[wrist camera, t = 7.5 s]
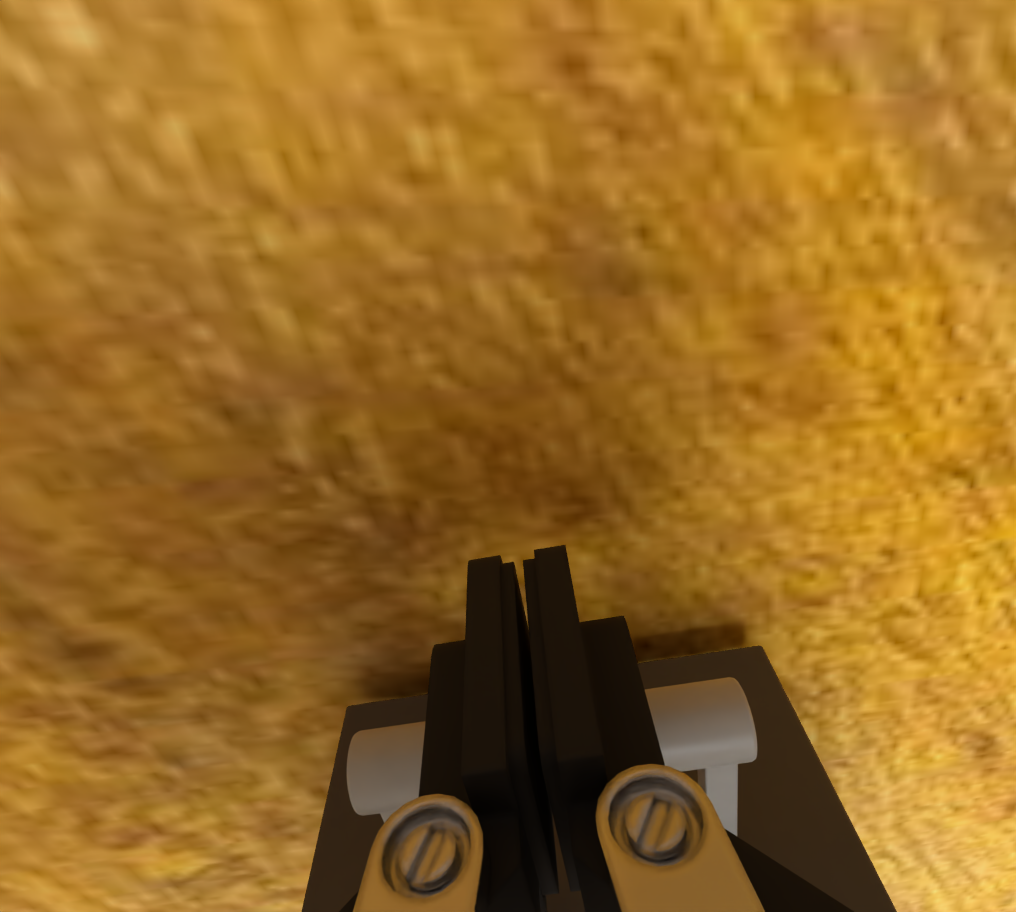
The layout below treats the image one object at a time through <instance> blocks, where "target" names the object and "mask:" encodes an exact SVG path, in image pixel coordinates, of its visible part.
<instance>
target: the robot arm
mask: <svg viewBox="0 0 1016 912" xmlns="http://www.w3.org/2000/svg"><path fill="white" fill-rule="evenodd" d="M534 555H535V558H534V559H528V560H523V567H524V579H525V590H526V602H527V614H528V625H527V621H526V616H525V611H524V607H523V602H522V597H521V593H520V588H519V583H518V579H517V574H516V569H515V565H514V562H509V563H502V559H501V556H500V555H499V556H493V557H486V558H480V559H474V560H469V561H468V574H467V604H466V635H465V640H462V641H456V642H449V643H443V644H436V645H434V647H433V650H432V656H431V667H430V678H429V688H428V699H427V710H426V721H425V732H424V743H423V753H422V764H421V775H420V786H419V797H418V798H416V799H414V800H412V801H409V802H407V803H405V804H404V805H403V806H401V807H400V808H399V809H398V810H396V811H395V812H394V813H393V814H391V815H390V816H389V818H388V819H387V820H386V822H385V823H384V824H383V826H382V827H381V828H380V829H379V831H378V833H377V836H376V838H375V840H374V843H373V845H372V847H371V851H370V854H369V857H368V861H367V864H366V868H365V871H364V875H363V878H362V882H361V885H360V889H359V891H358V892H357V893H356V894H355V895H354V896H353V897H352V898H351V899H350V900H349V901H348V902H347V903H346V904H345V906H344V907H343V908H342V909H341V910H340V911H339V912H547V901H546V895H551V894H558V893H559V880H558V869H557V859H556V849H555V838H554V828H553V818H554V823H555V827H556V831H557V836H558V840H559V844H560V848H561V853H562V857H563V861H564V865H565V870H566V874H567V878H568V883H569V887H570V891H571V892H573V891H581V895H582V899H583V904H584V908H585V912H854V911H853V910H851V909H849V908H848V907H846V906H845V905H843V904H842V903H840V902H839V901H837V900H835V899H834V898H832V897H831V896H829V895H828V894H826V893H825V892H823V891H821V890H820V889H818V888H817V887H815V886H814V885H812V884H810V883H809V882H807V881H806V880H804V879H803V878H801V877H800V876H798V875H796V874H795V873H793V872H792V871H790V870H789V869H787V868H786V867H784V866H782V865H781V864H779V863H778V862H776V861H775V860H773V859H771V858H770V857H768V856H767V855H765V854H764V853H762V852H761V851H759V850H757V849H756V848H754V847H753V846H751V845H750V844H748V843H747V842H745V841H743V840H742V839H740V838H739V837H737V836H736V835H734V834H733V833H731V832H729V831H728V830H726V829H725V828H724V827H723V825H722V823H721V821H720V819H719V817H718V815H717V813H716V811H715V809H714V806H713V804H712V802H711V801H710V799H709V798H708V796H707V795H706V793H705V792H704V790H703V789H702V788H701V786H700V785H699V784H698V783H696V782H695V781H694V780H693V779H691V778H690V777H689V776H688V775H687V774H685V773H683V772H681V771H678V770H676V769H674V768H672V767H669V766H665V763H664V759H663V756H662V752H661V748H660V745H659V741H658V737H657V734H656V730H655V726H654V723H653V719H652V715H651V712H650V708H649V704H648V700H647V697H646V693H645V689H644V686H643V682H642V678H641V675H640V671H639V667H638V664H637V660H636V656H635V652H634V649H633V645H632V641H631V638H630V634H629V630H628V627H627V623H626V620H625V618H624V616H619V617H612V618H606V619H599V620H592V621H586V622H579V618H578V612H577V607H576V601H575V596H574V590H573V585H572V579H571V574H570V568H569V563H568V557H567V552H566V546H565V545H561V546H555V547H549V548H543V549H536V550H534ZM528 626H529V630H528ZM552 814H553V817H552Z"/></svg>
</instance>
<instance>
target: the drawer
mask: <svg viewBox="0 0 1016 912" xmlns="http://www.w3.org/2000/svg"><path fill="white" fill-rule="evenodd" d="M637 664H638V667H639V671H640V675H641V678H642V682H643V686H644V689H645V693H646V697H647V700H648V704H649V708H650V712H651V715H652V719H653V723H654V726H655V730H656V734H657V737H658V741H659V745H660V748H661V752H662V756H663V759H664V763H665V766H669V767H672V768H674V769H676V770H678V771H681V772H683V773H685V774H687V775H688V776H689V777H690V778H691V779H693V780H694V781H695V782H696V783H698V784H699V785H700V786H701V788H702V789H703V790H704V792H705V793H706V795H707V796H708V798H709V799H710V801H711V802H712V804H713V806H714V809H715V811H716V813H717V815H718V817H719V819H720V821H721V823H722V825H723V827H724V828H725V829H726V830H728V831H729V832H731V833H733V834H734V835H736V836H737V837H739V838H740V839H742V840H743V841H745V842H747V843H748V844H750V845H751V846H753V847H754V848H756V849H757V850H759V851H761V852H762V853H764V854H765V855H767V856H768V857H770V858H771V859H773V860H775V861H776V862H778V863H779V864H781V865H782V866H784V867H786V868H787V869H789V870H790V871H792V872H793V873H795V874H796V875H798V876H800V877H801V878H803V879H804V880H806V881H807V882H809V883H810V884H812V885H814V886H815V887H817V888H818V889H820V890H821V891H823V892H825V893H826V894H828V895H829V896H831V897H832V898H834V899H835V900H837V901H839V902H840V903H842V904H843V905H845V906H846V907H848V908H849V909H851V910H853V911H854V912H897V911H896V909H895V907H894V905H893V903H892V901H891V899H890V897H889V895H888V894H887V892H886V890H885V888H884V886H883V884H882V882H881V880H880V878H879V876H878V874H877V872H876V870H875V868H874V866H873V864H872V862H871V860H870V858H869V856H868V854H867V852H866V850H865V848H864V846H863V844H862V842H861V840H860V838H859V836H858V834H857V832H856V831H855V829H854V827H853V825H852V823H851V821H850V819H849V817H848V815H847V813H846V811H845V809H844V807H843V805H842V803H841V801H840V799H839V797H838V795H837V793H836V791H835V789H834V787H833V785H832V783H831V781H830V779H829V777H828V775H827V773H826V771H825V769H824V768H823V766H822V764H821V762H820V760H819V758H818V756H817V754H816V752H815V750H814V748H813V746H812V744H811V742H810V740H809V738H808V736H807V734H806V732H805V730H804V728H803V726H802V724H801V722H800V720H799V718H798V716H797V714H796V712H795V710H794V708H793V707H792V705H791V703H790V701H789V699H788V697H787V695H786V693H785V691H784V689H783V687H782V685H781V683H780V681H779V679H778V677H777V675H776V673H775V671H774V669H773V667H772V665H771V663H770V661H769V659H768V657H767V655H766V653H765V651H764V649H763V648H762V646H752V647H745V648H739V649H732V650H725V651H718V652H711V653H705V654H698V655H691V656H684V657H677V658H671V659H664V660H657V661H650V662H643V663H637ZM427 699H428V694H426V695H419V696H412V697H405V698H399V699H392V700H385V701H378V702H371V703H365V704H358V705H351V706H348V707H347V709H346V713H345V718H344V722H343V727H342V732H341V736H340V741H339V745H338V750H337V754H336V759H335V763H334V768H333V772H332V777H331V781H330V786H329V790H328V795H327V799H326V804H325V808H324V813H323V817H322V822H321V827H320V831H319V836H318V840H317V845H316V849H315V854H314V858H313V863H312V867H311V872H310V876H309V881H308V885H307V890H306V894H305V899H304V903H303V908H302V912H339V911H340V910H341V909H342V908H343V907H344V906H345V904H346V903H347V902H348V901H349V900H350V899H351V898H352V897H353V896H354V895H355V894H356V893H357V892H358V891H359V889H360V885H361V882H362V878H363V875H364V871H365V868H366V864H367V861H368V857H369V854H370V851H371V847H372V845H373V843H374V840H375V838H376V836H377V833H378V831H379V829H380V828H381V827H382V826H383V824H384V823H385V822H386V820H387V819H388V818H389V816H390V815H391V814H393V813H394V812H395V811H396V810H398V809H399V808H400V807H401V806H403V805H404V804H405V803H407V802H409V801H412V800H414V799H416V798H418V797H419V786H420V775H421V764H422V753H423V743H424V732H425V721H426V710H427ZM552 817H553V814H552ZM553 828H554V838H555V849H556V859H557V869H558V880H559V893H558V894H551V895H546V901H547V912H585V908H584V904H583V899H582V895H581V891H573V892H571V891H570V887H569V883H568V878H567V874H566V870H565V865H564V861H563V857H562V853H561V848H560V844H559V840H558V836H557V831H556V827H555V823H554V818H553Z"/></svg>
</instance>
